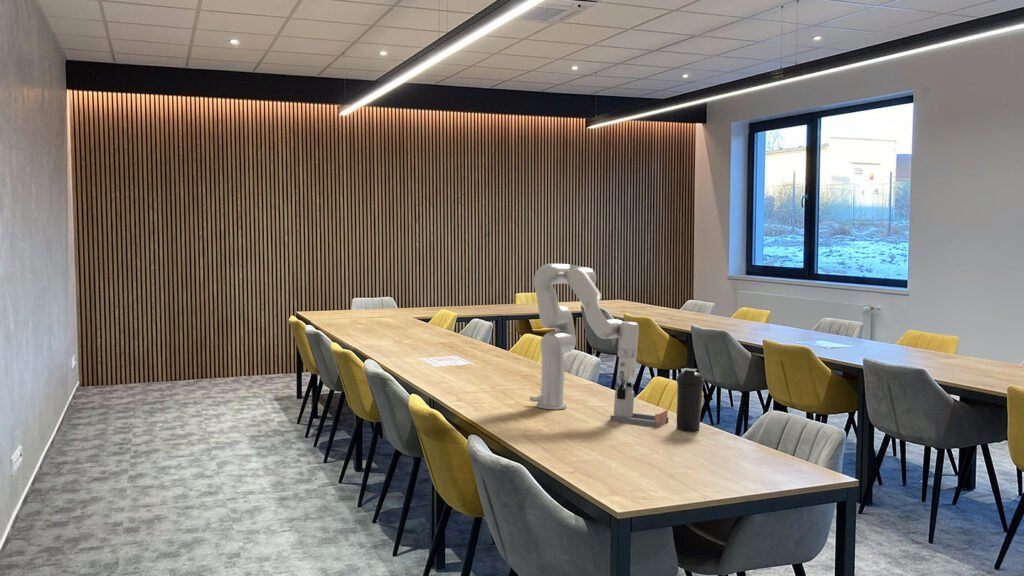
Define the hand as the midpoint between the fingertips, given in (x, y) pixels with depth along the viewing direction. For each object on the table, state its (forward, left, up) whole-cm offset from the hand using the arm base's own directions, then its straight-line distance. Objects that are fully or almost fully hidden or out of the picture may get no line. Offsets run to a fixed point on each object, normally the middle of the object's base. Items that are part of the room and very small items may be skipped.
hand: (624, 397), depth 338 cm
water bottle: (+23, -14, -9) cm, 28 cm away
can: (0, 0, -8) cm, 8 cm away
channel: (+6, -3, -9) cm, 11 cm away
